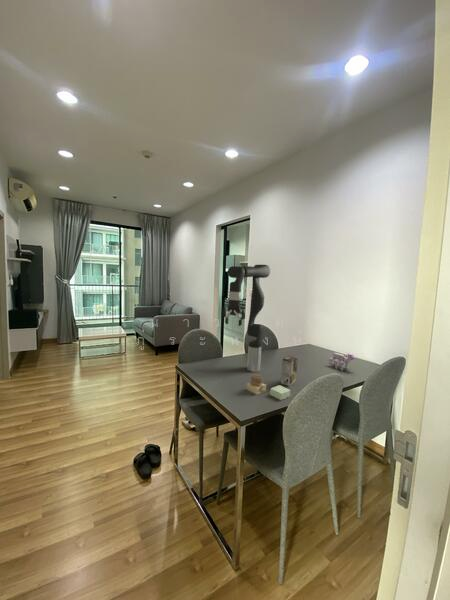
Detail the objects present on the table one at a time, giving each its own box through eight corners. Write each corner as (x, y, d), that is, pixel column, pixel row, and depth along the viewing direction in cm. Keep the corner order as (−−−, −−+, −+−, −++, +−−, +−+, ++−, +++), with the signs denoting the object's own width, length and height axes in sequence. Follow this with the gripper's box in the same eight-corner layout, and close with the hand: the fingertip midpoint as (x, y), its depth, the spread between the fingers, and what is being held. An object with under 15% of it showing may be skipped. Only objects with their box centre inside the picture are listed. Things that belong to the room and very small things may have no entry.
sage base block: (278, 391, 155) (279, 385, 154) (290, 396, 149) (290, 390, 148) (270, 395, 150) (270, 388, 149) (281, 400, 144) (281, 393, 143)
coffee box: (286, 379, 173) (288, 355, 172) (296, 382, 169) (298, 358, 168) (280, 383, 166) (282, 358, 165) (289, 386, 162) (291, 361, 161)
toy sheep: (359, 372, 194) (360, 354, 192) (351, 375, 188) (353, 357, 186) (334, 363, 210) (335, 347, 209) (326, 366, 204) (327, 349, 202)
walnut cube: (253, 381, 157) (254, 373, 157) (261, 383, 155) (262, 375, 155) (250, 384, 153) (251, 376, 152) (259, 386, 151) (259, 378, 150)
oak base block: (255, 386, 160) (256, 380, 160) (265, 391, 154) (266, 385, 154) (246, 390, 155) (247, 383, 154) (256, 395, 149) (257, 388, 148)
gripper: (247, 299, 161) (246, 325, 163) (226, 297, 167) (225, 322, 169) (243, 300, 154) (241, 327, 156) (221, 298, 160) (220, 324, 162)
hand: (233, 324), depth 162 cm, fingers open, 8 cm apart
